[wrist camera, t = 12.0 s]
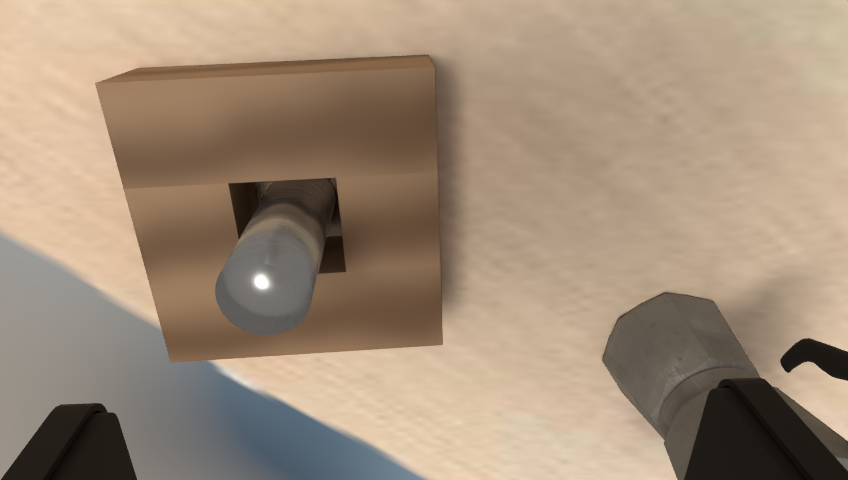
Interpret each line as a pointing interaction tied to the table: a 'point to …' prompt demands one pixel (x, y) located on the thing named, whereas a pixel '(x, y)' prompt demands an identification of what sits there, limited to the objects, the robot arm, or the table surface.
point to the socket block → (274, 161)
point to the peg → (277, 258)
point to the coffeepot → (698, 369)
